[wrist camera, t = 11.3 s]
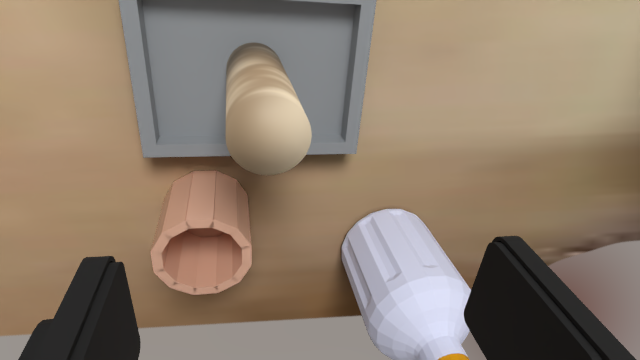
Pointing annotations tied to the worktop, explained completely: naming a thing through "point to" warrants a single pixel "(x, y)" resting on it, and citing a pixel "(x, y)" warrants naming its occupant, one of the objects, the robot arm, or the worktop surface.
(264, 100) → the dowel
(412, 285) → the soap bottle
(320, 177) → the worktop surface
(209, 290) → the cup
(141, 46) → the tray
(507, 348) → the robot arm
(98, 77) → the worktop surface
